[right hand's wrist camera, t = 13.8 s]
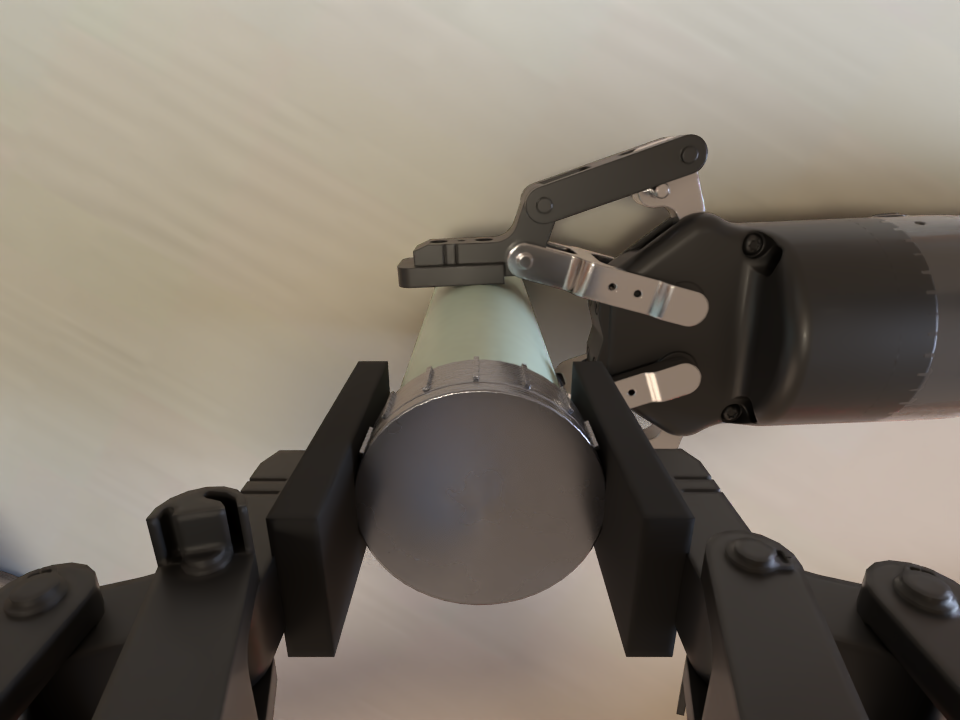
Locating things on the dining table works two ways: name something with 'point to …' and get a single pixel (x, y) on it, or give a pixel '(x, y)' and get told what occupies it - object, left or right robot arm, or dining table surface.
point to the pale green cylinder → (480, 329)
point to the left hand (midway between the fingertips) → (409, 338)
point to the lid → (480, 483)
